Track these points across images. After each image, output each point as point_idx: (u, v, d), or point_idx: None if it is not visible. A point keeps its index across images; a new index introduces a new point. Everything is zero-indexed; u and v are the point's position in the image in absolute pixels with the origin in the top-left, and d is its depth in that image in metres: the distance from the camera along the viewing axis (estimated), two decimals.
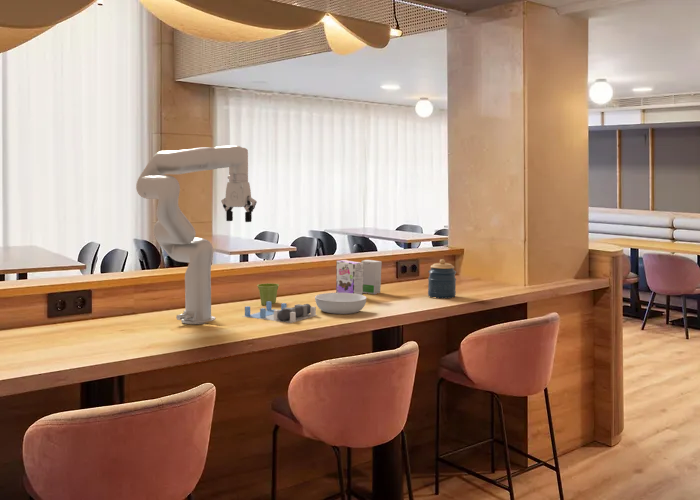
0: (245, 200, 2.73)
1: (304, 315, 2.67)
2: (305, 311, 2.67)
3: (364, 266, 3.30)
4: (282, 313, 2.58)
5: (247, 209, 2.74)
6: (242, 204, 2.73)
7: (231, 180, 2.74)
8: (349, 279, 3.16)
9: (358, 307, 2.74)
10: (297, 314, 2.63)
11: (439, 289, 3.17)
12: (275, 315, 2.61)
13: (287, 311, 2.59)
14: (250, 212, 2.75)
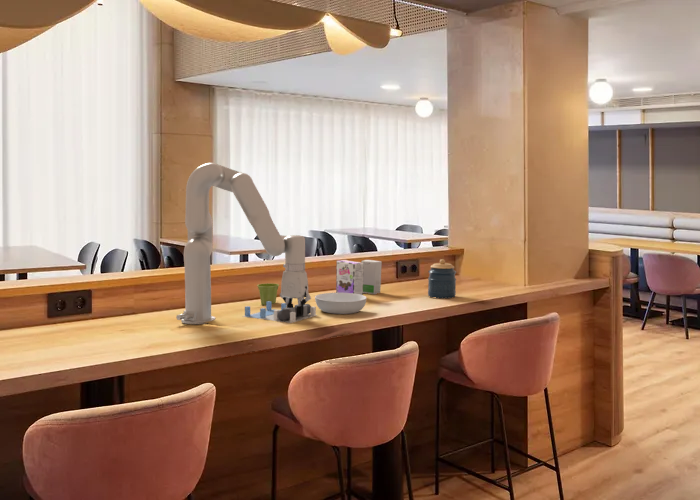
0: (303, 291, 2.60)
1: (304, 315, 2.67)
2: (305, 311, 2.67)
3: (364, 266, 3.30)
4: (282, 313, 2.58)
5: (300, 303, 2.62)
6: (299, 296, 2.60)
7: (288, 270, 2.61)
8: (349, 279, 3.16)
9: (358, 307, 2.74)
10: None
11: (439, 289, 3.17)
12: (275, 315, 2.61)
13: (287, 311, 2.59)
14: None
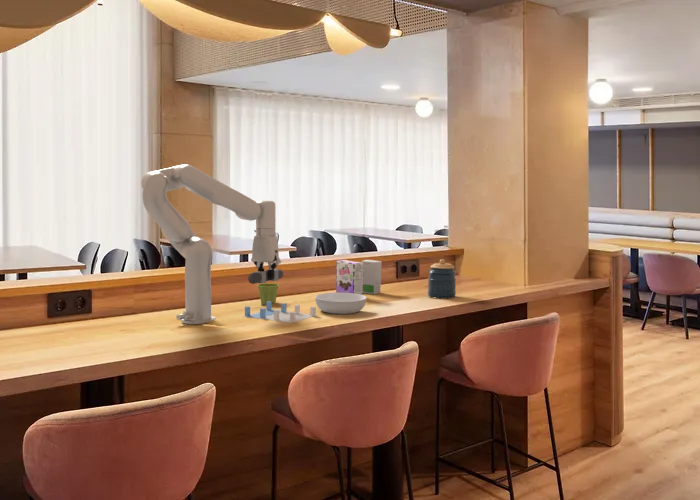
0: (273, 255, 2.66)
1: (275, 279, 2.73)
2: (275, 275, 2.73)
3: (364, 266, 3.30)
4: (252, 276, 2.64)
5: (270, 267, 2.68)
6: (270, 259, 2.66)
7: (258, 234, 2.67)
8: (349, 279, 3.16)
9: (358, 307, 2.74)
10: None
11: (439, 289, 3.17)
12: (275, 315, 2.61)
13: (257, 274, 2.65)
14: None
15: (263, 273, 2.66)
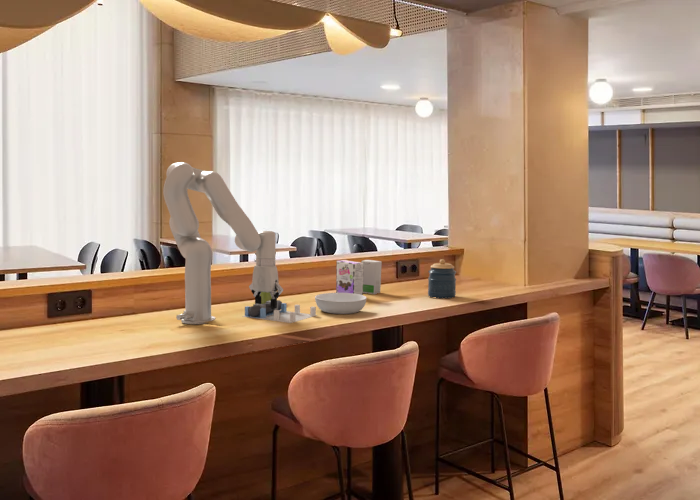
0: (273, 285, 2.67)
1: None
2: None
3: (364, 266, 3.30)
4: (252, 309, 2.65)
5: (273, 296, 2.69)
6: (270, 290, 2.67)
7: (258, 265, 2.68)
8: (349, 279, 3.16)
9: (358, 307, 2.74)
10: (268, 310, 2.71)
11: (439, 289, 3.17)
12: (275, 315, 2.61)
13: (257, 307, 2.66)
14: (275, 299, 2.70)
15: (263, 306, 2.68)
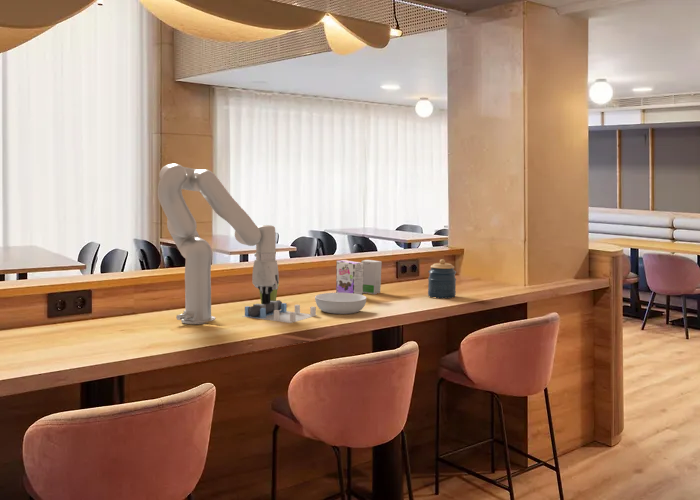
0: (273, 280, 2.67)
1: None
2: (275, 307, 2.75)
3: (364, 266, 3.30)
4: (252, 309, 2.65)
5: (267, 291, 2.70)
6: (270, 284, 2.67)
7: (258, 259, 2.68)
8: (349, 279, 3.16)
9: (358, 307, 2.74)
10: (268, 310, 2.71)
11: (439, 289, 3.17)
12: (275, 315, 2.61)
13: (257, 307, 2.66)
14: None
15: (263, 306, 2.68)
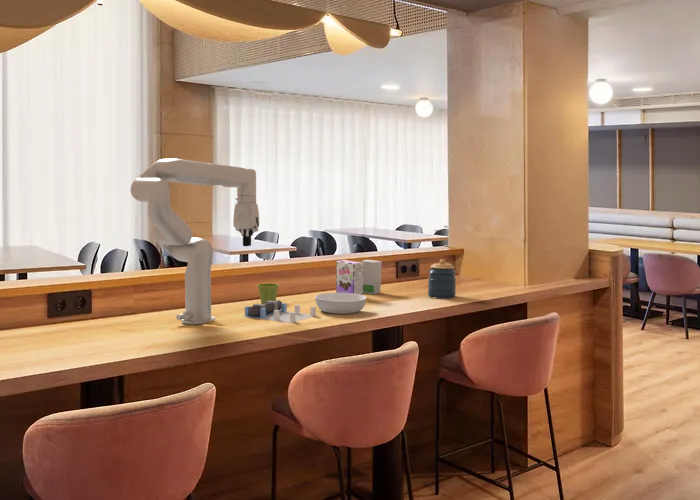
0: (253, 222, 2.72)
1: None
2: (275, 307, 2.75)
3: (364, 266, 3.30)
4: (252, 309, 2.65)
5: (247, 233, 2.75)
6: (250, 226, 2.72)
7: (239, 202, 2.73)
8: (349, 279, 3.16)
9: (358, 307, 2.74)
10: (268, 310, 2.71)
11: (439, 289, 3.17)
12: (275, 315, 2.61)
13: (257, 307, 2.66)
14: None
15: (263, 306, 2.68)
